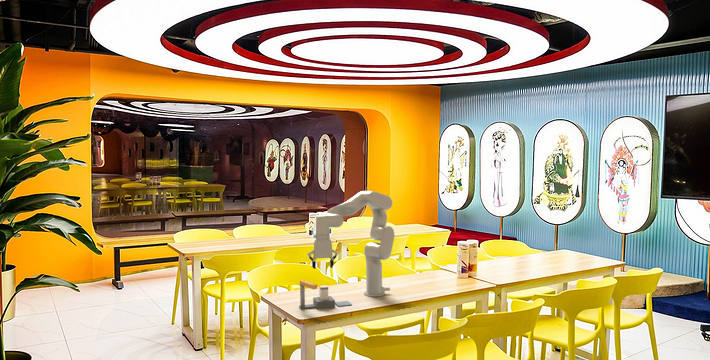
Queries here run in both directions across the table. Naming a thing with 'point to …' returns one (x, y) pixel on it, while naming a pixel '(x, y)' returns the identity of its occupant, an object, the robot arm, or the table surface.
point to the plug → (323, 292)
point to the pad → (343, 303)
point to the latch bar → (308, 284)
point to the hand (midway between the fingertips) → (322, 268)
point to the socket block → (315, 301)
